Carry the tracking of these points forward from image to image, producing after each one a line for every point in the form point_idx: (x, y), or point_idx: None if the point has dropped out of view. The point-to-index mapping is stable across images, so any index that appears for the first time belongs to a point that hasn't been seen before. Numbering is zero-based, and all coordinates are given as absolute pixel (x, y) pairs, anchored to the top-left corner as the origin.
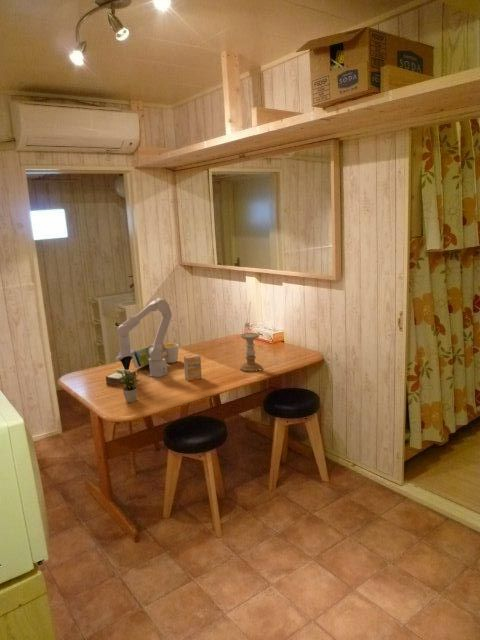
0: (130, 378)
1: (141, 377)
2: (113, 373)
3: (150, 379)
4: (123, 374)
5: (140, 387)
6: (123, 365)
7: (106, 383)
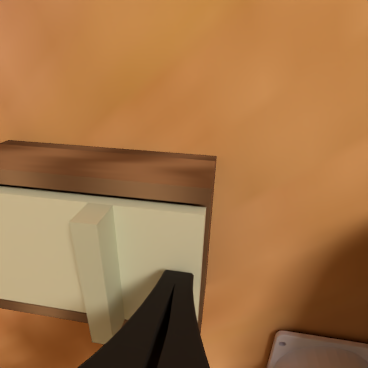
0: None
1: (234, 309)
2: (53, 185)
3: (215, 362)
4: (76, 295)
5: (88, 354)
6: (140, 311)
7: (4, 143)
